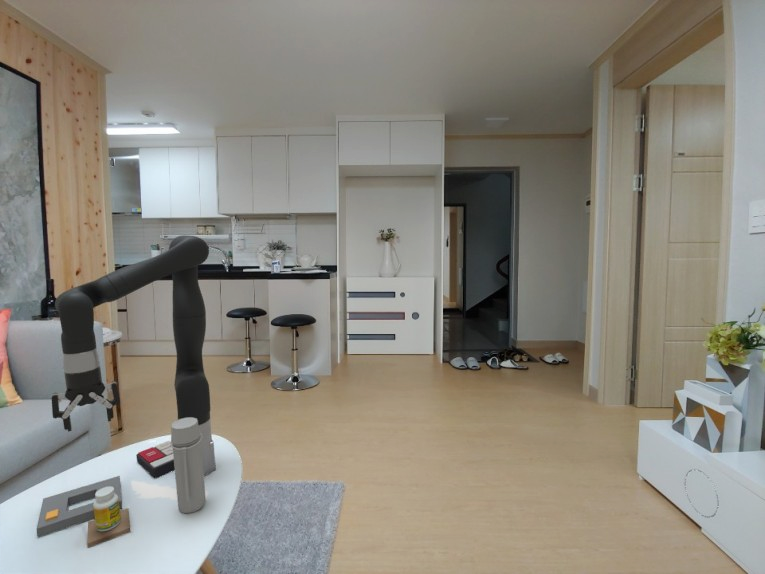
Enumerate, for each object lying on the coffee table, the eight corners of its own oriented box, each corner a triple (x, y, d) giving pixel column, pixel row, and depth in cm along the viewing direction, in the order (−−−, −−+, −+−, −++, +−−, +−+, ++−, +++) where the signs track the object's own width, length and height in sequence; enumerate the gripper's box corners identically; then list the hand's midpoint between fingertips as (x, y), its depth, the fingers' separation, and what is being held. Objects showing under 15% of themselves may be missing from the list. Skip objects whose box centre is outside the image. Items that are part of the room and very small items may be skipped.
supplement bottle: (104, 517, 106) (100, 484, 105) (125, 516, 106) (121, 483, 105) (91, 533, 101) (86, 498, 99) (113, 531, 101) (109, 497, 100)
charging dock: (120, 483, 122) (119, 473, 122) (122, 509, 111) (121, 498, 111) (44, 506, 112) (43, 496, 112) (37, 537, 101) (36, 526, 100)
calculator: (169, 438, 142) (188, 451, 132) (171, 450, 142) (190, 463, 133) (135, 452, 134) (153, 466, 124) (137, 464, 134) (154, 479, 124)
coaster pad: (128, 511, 110) (128, 507, 110) (130, 532, 103) (130, 527, 102) (88, 525, 105) (88, 521, 105) (87, 548, 97) (86, 543, 97)
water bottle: (179, 500, 114) (171, 418, 111) (208, 494, 117) (202, 414, 113) (172, 522, 106) (164, 434, 102) (205, 516, 108) (198, 430, 104)
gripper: (114, 357, 111) (120, 412, 113) (48, 368, 102) (56, 427, 105) (115, 364, 105) (122, 422, 107) (45, 377, 96) (54, 439, 99)
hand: (90, 425), depth 106 cm, fingers open, 8 cm apart
